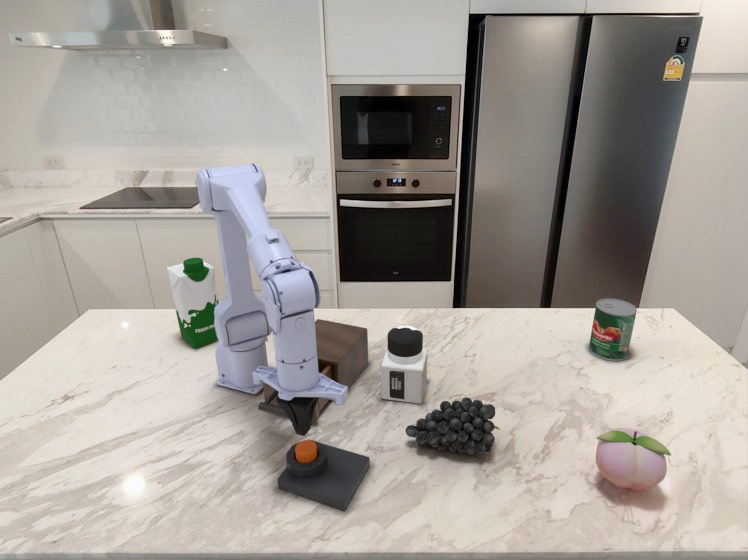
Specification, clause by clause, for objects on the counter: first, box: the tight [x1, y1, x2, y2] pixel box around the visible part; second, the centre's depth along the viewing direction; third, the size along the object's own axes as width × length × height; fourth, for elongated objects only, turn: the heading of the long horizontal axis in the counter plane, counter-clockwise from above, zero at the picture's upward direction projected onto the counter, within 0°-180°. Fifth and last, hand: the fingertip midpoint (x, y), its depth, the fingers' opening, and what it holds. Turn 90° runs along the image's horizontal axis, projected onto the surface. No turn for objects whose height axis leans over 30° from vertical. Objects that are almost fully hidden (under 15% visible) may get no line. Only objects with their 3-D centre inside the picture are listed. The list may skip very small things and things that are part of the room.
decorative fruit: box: [595, 427, 672, 491], centre depth 70 cm, size 9×8×10 cm
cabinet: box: [315, 318, 369, 391], centre depth 96 cm, size 14×12×9 cm
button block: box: [276, 439, 371, 512], centre depth 73 cm, size 12×9×4 cm
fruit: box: [405, 397, 501, 456], centre depth 78 cm, size 9×8×15 cm
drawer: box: [257, 362, 335, 423], centre depth 87 cm, size 17×10×7 cm, turn 158°
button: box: [295, 439, 317, 464], centre depth 73 cm, size 3×3×2 cm
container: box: [380, 325, 428, 404], centre depth 91 cm, size 8×8×13 cm
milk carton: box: [166, 257, 220, 350], centre depth 109 cm, size 9×9×20 cm
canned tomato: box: [588, 297, 638, 362], centre depth 103 cm, size 8×8×11 cm
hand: (303, 430), depth 72 cm, fingers closed
